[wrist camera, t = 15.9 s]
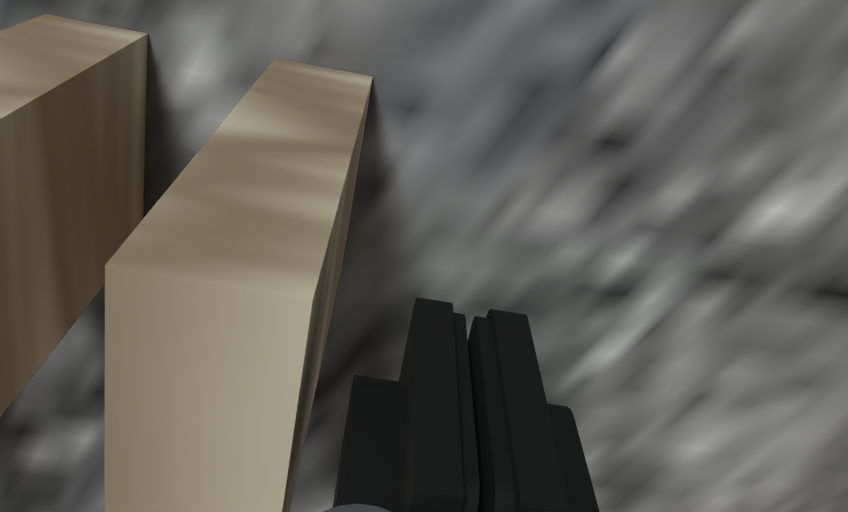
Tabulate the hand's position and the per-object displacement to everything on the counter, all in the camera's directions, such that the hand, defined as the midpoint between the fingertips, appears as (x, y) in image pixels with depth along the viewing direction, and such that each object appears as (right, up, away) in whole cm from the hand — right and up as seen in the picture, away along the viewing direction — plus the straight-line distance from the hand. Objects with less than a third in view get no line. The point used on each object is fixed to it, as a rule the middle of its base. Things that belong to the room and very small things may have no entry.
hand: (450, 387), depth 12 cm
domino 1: (-3, +4, +7) cm, 8 cm away
